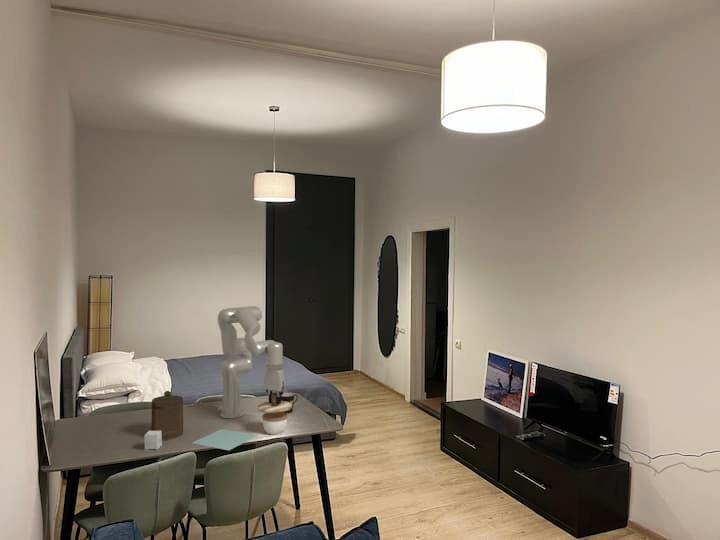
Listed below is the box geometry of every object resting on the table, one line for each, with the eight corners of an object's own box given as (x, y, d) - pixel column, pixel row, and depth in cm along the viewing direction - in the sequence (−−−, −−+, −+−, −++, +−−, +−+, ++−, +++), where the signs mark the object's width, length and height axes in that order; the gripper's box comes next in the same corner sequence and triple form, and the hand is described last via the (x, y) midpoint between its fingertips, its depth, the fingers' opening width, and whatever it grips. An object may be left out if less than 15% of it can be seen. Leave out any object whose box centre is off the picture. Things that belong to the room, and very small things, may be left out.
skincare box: (162, 445, 250) (162, 430, 250) (157, 450, 244) (157, 434, 244) (149, 445, 250) (148, 430, 250) (144, 450, 244) (144, 434, 244)
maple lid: (250, 410, 264) (250, 395, 264) (270, 401, 280) (270, 387, 280) (279, 414, 257) (279, 399, 257) (298, 405, 273) (298, 391, 272)
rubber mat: (191, 443, 253) (191, 442, 253) (221, 429, 273) (221, 429, 273) (228, 451, 244) (228, 450, 244) (257, 436, 264) (257, 435, 264)
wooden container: (172, 428, 275) (172, 386, 274) (189, 434, 266) (189, 390, 265) (145, 435, 264) (145, 391, 263) (161, 442, 254) (161, 397, 254)
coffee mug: (281, 414, 299) (281, 397, 299) (277, 410, 307) (277, 393, 307) (301, 412, 303) (301, 395, 303) (297, 408, 311) (297, 391, 311)
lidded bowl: (282, 438, 261) (282, 415, 261) (258, 436, 264) (258, 414, 264) (290, 429, 274) (291, 408, 273) (267, 428, 276) (267, 407, 276)
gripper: (256, 367, 268) (256, 403, 269) (284, 370, 261) (284, 407, 262) (265, 364, 275) (265, 399, 275) (293, 367, 268) (292, 403, 268)
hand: (274, 403), depth 268 cm, fingers open, 3 cm apart
